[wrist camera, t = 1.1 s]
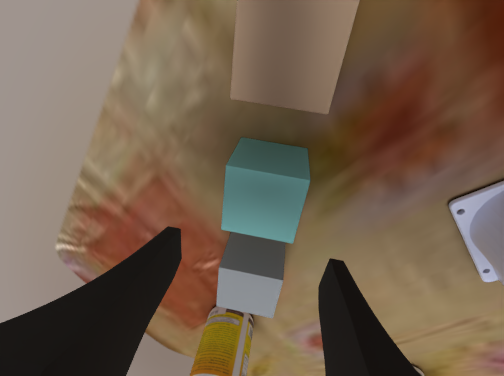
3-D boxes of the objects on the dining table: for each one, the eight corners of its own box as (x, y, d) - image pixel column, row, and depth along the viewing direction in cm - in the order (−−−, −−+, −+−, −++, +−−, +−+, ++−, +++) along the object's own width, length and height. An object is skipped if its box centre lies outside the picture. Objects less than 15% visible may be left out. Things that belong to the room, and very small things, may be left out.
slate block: (285, 236, 24) (283, 280, 19) (276, 272, 26) (272, 318, 22) (233, 226, 24) (219, 267, 20) (229, 262, 27) (216, 306, 22)
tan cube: (343, 2, 14) (362, -11, 10) (320, 94, 17) (327, 114, 13) (255, -10, 15) (239, -27, 10) (246, 82, 17) (230, 98, 13)
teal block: (307, 148, 19) (310, 180, 15) (293, 202, 22) (292, 243, 17) (241, 136, 19) (225, 165, 15) (236, 191, 22) (221, 229, 18)
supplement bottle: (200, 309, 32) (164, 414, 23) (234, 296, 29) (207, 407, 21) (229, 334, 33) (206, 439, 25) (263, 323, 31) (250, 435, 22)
